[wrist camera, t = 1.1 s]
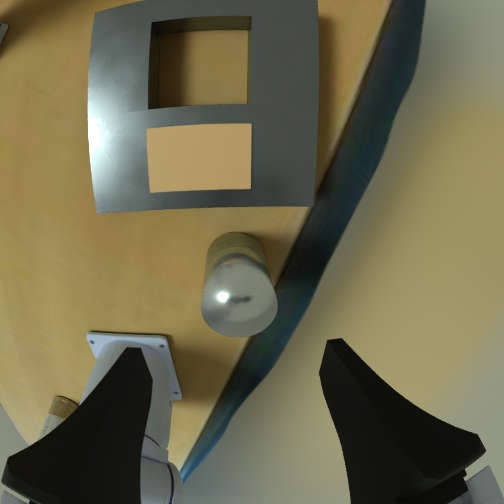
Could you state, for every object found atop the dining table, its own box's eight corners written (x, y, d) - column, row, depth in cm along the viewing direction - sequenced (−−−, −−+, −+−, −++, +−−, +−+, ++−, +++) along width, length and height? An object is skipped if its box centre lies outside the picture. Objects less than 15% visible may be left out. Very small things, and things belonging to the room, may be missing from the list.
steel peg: (262, 281, 21) (275, 335, 15) (208, 283, 20) (204, 338, 15) (264, 231, 19) (279, 275, 14) (205, 232, 19) (198, 277, 13)
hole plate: (302, 196, 18) (314, 207, 16) (111, 202, 17) (95, 215, 15) (306, 14, 13) (318, -1, 10) (109, 23, 11) (93, 12, 9)
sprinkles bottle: (87, 411, 28) (66, 493, 16) (72, 415, 28) (52, 489, 16) (61, 392, 26) (33, 475, 14) (48, 397, 27) (22, 472, 15)
